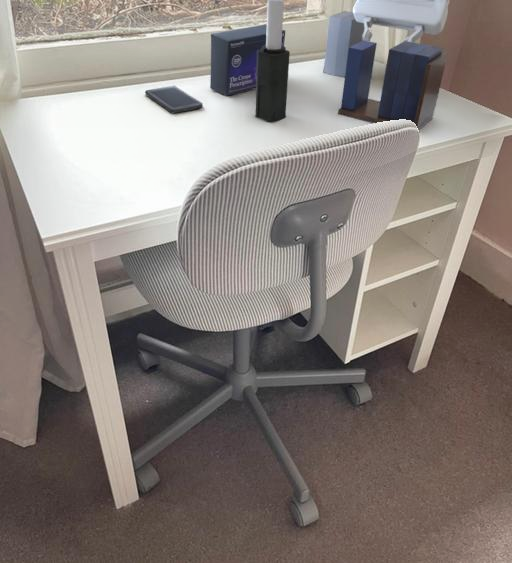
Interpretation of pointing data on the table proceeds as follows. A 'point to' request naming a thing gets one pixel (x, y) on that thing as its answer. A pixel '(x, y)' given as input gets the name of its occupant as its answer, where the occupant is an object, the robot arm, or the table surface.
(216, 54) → the box
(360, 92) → the navy book
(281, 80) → the candle
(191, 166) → the table surface
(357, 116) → the book rack
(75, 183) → the table surface
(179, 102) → the cell phone
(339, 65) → the grey upright block
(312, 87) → the table surface
